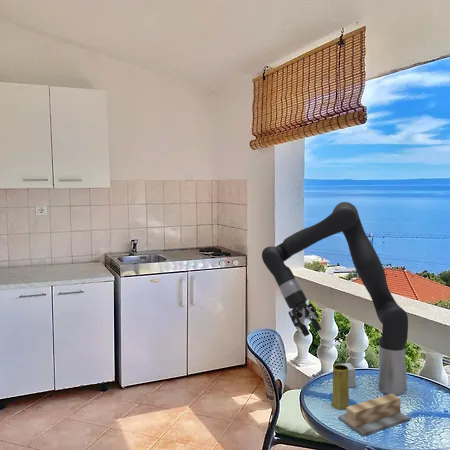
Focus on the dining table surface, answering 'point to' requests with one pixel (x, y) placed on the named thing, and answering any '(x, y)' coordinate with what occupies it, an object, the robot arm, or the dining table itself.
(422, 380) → the dining table surface
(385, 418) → the ridge
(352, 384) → the skincare box
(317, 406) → the dining table surface
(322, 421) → the dining table surface
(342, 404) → the vase
